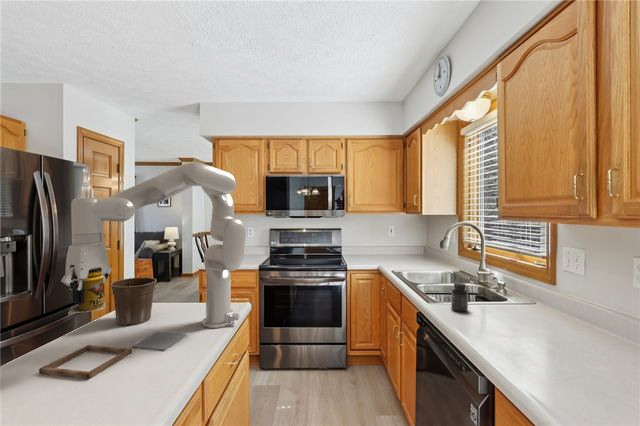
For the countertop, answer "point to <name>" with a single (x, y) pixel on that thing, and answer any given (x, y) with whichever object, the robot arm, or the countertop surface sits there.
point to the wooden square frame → (54, 371)
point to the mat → (159, 341)
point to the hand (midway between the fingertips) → (89, 299)
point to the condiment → (91, 293)
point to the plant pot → (133, 300)
